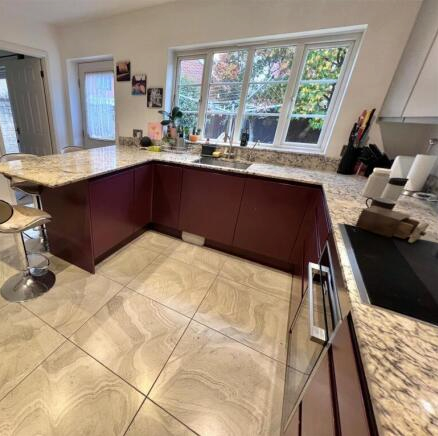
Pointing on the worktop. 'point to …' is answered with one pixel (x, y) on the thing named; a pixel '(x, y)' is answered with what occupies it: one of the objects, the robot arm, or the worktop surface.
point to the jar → (376, 183)
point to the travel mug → (394, 188)
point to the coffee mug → (382, 203)
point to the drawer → (410, 229)
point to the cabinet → (380, 220)
